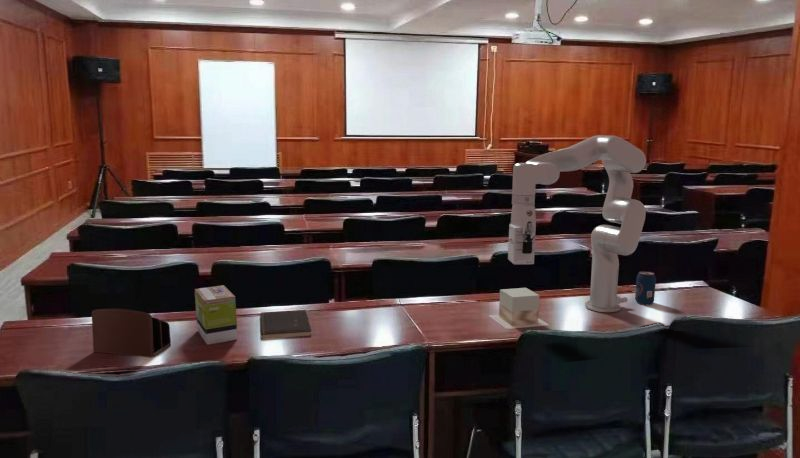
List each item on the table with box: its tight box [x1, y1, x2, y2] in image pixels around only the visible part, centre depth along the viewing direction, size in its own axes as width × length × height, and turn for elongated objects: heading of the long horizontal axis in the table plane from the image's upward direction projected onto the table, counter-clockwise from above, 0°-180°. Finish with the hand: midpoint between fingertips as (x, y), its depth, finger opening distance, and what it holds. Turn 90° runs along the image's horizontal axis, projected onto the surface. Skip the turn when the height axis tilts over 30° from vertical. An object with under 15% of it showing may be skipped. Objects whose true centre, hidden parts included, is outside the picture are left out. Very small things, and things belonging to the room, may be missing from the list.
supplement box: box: [507, 223, 536, 265], centre depth 210 cm, size 7×7×13 cm
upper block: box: [499, 287, 540, 312], centre depth 214 cm, size 10×10×5 cm
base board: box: [488, 314, 550, 330], centre depth 215 cm, size 16×15×1 cm
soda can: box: [634, 270, 657, 305], centre depth 239 cm, size 7×7×12 cm
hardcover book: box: [259, 309, 312, 340], centre depth 210 cm, size 16×23×2 cm
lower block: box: [498, 303, 540, 326], centre depth 214 cm, size 10×10×5 cm
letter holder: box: [91, 308, 172, 358], centre depth 187 cm, size 10×20×14 cm, turn 79°
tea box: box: [194, 284, 238, 345], centre depth 199 cm, size 15×10×15 cm
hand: (521, 250), depth 211 cm, fingers closed on supplement box, 8 cm apart
